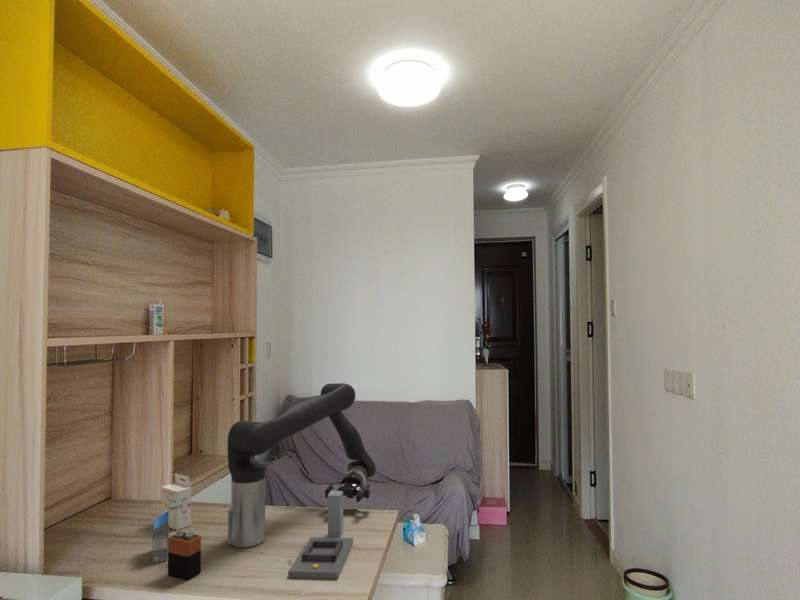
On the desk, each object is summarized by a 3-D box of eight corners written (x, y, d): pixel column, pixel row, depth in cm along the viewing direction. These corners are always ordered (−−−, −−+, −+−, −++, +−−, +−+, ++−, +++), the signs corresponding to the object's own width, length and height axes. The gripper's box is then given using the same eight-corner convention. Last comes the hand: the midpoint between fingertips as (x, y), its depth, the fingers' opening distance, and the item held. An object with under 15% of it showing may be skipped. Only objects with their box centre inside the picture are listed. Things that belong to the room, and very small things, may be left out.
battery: (187, 581, 119) (188, 538, 120) (166, 576, 122) (167, 533, 122) (201, 573, 123) (202, 531, 124) (181, 568, 126) (181, 527, 126)
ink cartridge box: (159, 525, 154) (160, 476, 155) (174, 520, 158) (175, 472, 159) (176, 531, 150) (177, 480, 151) (191, 525, 154) (192, 476, 155)
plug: (328, 538, 143) (327, 495, 143) (331, 532, 147) (330, 490, 147) (340, 538, 142) (340, 495, 143) (343, 533, 146) (343, 491, 147)
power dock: (288, 577, 120) (288, 564, 120) (310, 542, 140) (310, 531, 140) (337, 579, 119) (337, 566, 119) (353, 543, 139) (353, 532, 139)
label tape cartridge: (153, 550, 137) (154, 503, 138) (169, 547, 138) (169, 501, 139) (151, 563, 129) (152, 514, 129) (168, 560, 130) (168, 512, 131)
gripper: (332, 471, 173) (321, 486, 157) (373, 471, 172) (366, 487, 156) (333, 493, 173) (321, 511, 157) (374, 494, 171) (366, 511, 155)
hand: (343, 499), depth 156 cm, fingers open, 8 cm apart
